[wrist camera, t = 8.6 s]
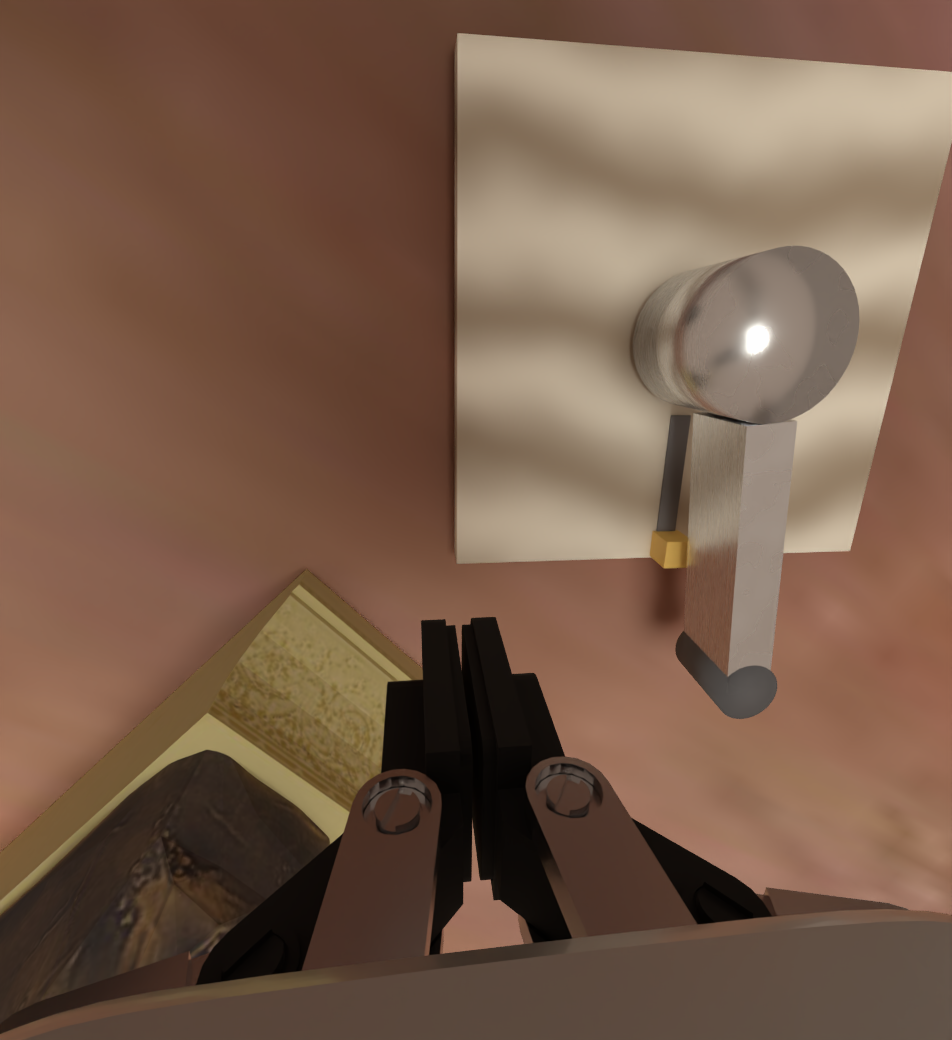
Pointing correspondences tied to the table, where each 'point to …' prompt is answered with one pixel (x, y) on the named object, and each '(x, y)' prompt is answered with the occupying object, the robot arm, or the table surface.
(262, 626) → the decorative clock
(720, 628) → the capstan lever
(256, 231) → the table surface
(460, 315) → the dial base
